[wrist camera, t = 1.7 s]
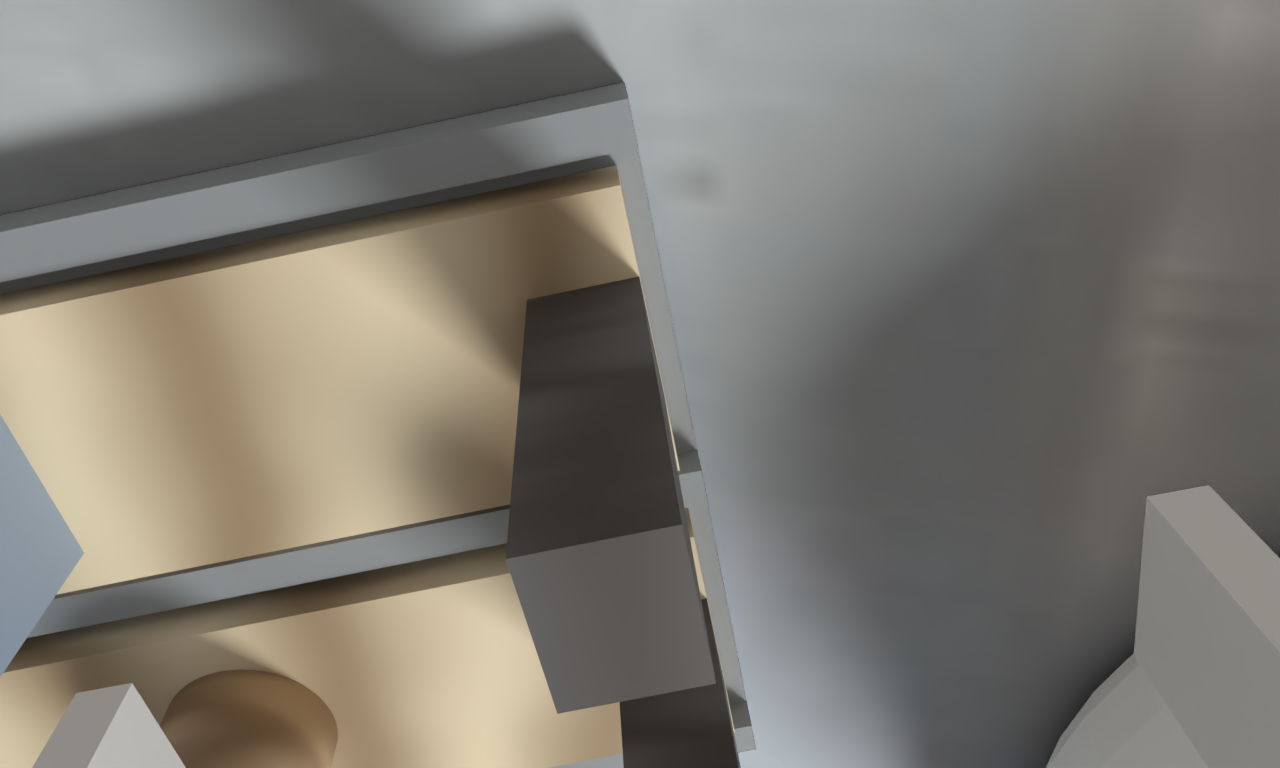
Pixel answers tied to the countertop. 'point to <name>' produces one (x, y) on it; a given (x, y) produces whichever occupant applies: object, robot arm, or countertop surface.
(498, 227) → the strip
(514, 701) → the strip
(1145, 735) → the pot
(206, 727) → the brown rounded piece
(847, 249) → the countertop surface
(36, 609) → the blue block
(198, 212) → the lane board
